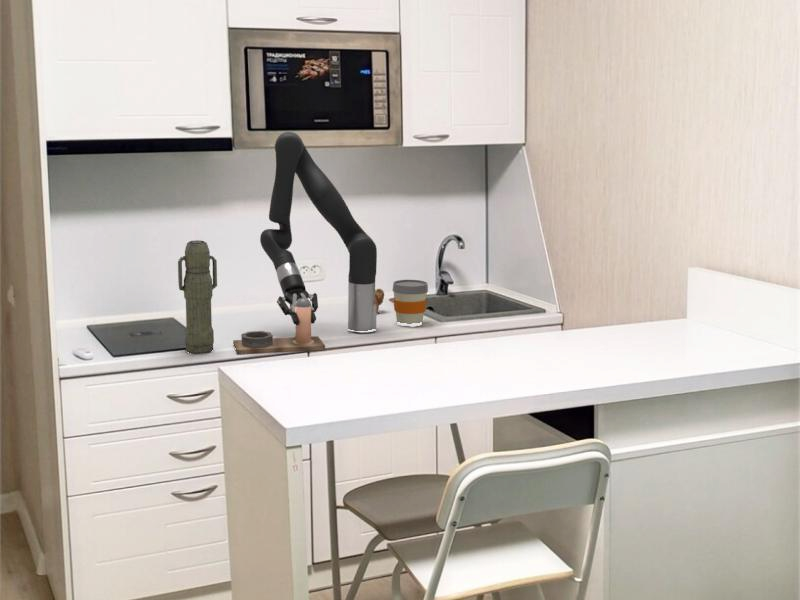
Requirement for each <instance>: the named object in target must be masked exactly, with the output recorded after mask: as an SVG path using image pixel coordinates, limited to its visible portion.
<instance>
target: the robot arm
mask: <svg viewBox="0 0 800 600" xmlns="http://www.w3.org/2000/svg"><path fill="white" fill-rule="evenodd" d="M274 151H275V174H274V175H275V176H274V183H273V187H272V193H271V199H270V204H269V205H270V206H269V211H268V219H269V221H270V222H272V223H275V224H278V226H279V229H278V228H275V229H274V228H267V229H264V230H262V232H261V233H260V236H259V237H260V238H259V242H260V244H261V245H260V246H261V248H262V249H263V251H264V252H265V254H266V255H267V256H268V258H269V259H270V260H271V262H272V264H273V266H274V270H275V272H276V277H277V280H278V283H279V287H280V289H281V292H282V294H283V296H279V297H278V298H277V301H276V303H277V305H278V306H279V308H280V310H281V311H282V313H283V315H285V316H290V317H291V320H292V323H293V324H294V325H295V326H296V325H299V323H300V321H299V318H298V315H297V313H296V302H297V300H299V299H300V298H306V299H308V300H309V301H310V302H311V325H312V324H315V322H316V321H317V316H316V312H317V310H318V308H319V299H318V294H317V293H316V292H313V294H312V293H309V292H308V291H307V290H306V285H305V283H304V280H303V277H302V274H301V272H300V271H301V270H300V269H299V267H298V265H297V263H296V260H295V258H294V255H293V253H292V252H291V251H290V250H289V248H290V247H291V245H292V244H293V243H292V242H293V235H292V229H291V227H292V225H291V213H292V204H293V195H294V180H295V175H296V177H298V179H299V182H301V185H302V188H303V189H304V191H305V193H306V195H307V197H308V198H309V200H310V201H311V203H312V204H313V205H314V207H315V208H316V210H317V211H318V213H320V215H321V216H322V217H323V219H324V220H325V221H326V222H327V223H328V224H329V225H331V227H332V228H333V230H335V231H336V232H337V234H338V235H339V237H340V239H341V240H342V241H343V244H344V245H345V247H346V249H347V252H348V253H349V255H348V256H349V261H348V262H349V263H348V264H349V269H348V282H347V283H348V287H347V288H348V292H347V294H348V298H347V299H348V302H347V305H348V307H347V308H348V309H347V315H348V316H347V330H348V329H350V330H354V331H368V330H372V329H376V330H377V314H376V312H377V306H376V304H375V290H376V277H377V276H376V275H377V262H378V259H377V256H378V254H377V253H378V249H377V245H376V242H374V239H373V238H372V237H370V236H369V235H368V234H367V232H365V230H364V229H363V228H362V227H361V225H359V224H358V222H357V221H356V219H355V218H354V217H353V214H352V213H351V210H350V208H349V207H348V205H347V204H346V201H345V199H343V196H342V195H341V194H340V192H339V190H338V189H337V188H336V187H335V185H334V184H333V182H331V179H329V178H328V176H327V175H326V174H325V172H323V170H322V169H321V168H320V167H319V166H318V164H316V162H315V161H314V159H313V158H312V156H311V155H310V153H309V151H308V149H307V148H306V146H305V144H304V142H303V140H302V138H301V137H300V136H299V135H298V134H297V133H295V132H292V131H286V132H285V131H284V132H282V133H280V134H279V135H278V137H277V139H276V140H275V144H274ZM288 304H289V306H288Z"/></svg>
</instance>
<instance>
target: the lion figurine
mask: <svg viewBox="0 0 800 600" xmlns="http://www.w3.org/2000/svg"><path fill="white" fill-rule="evenodd" d="M384 298H385V292H384V290H383V289H382V288H375V304H376V306H377V312H376V313H379V314H380V312H379V309H380V308H379V307H380V306H381V305H382V304H383V302H384Z"/></svg>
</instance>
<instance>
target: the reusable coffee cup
mask: <svg viewBox="0 0 800 600" xmlns="http://www.w3.org/2000/svg"><path fill="white" fill-rule="evenodd" d="M392 292H393V298H392V301H393V308H394V309H393V310H394V312H395V317H396V323H397V322H400V323H407V324H412V323H420V322H422V321H423V320H424V314H425V312H426V309H427V301H428V299H427V293H428V292H429V287H428V282H427V281H424V280H420V279H419V280H418V279H398V280H396V281H393V285H392ZM423 322H424V321H423ZM423 322H422V323H423Z"/></svg>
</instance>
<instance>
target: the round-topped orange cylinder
mask: <svg viewBox="0 0 800 600" xmlns="http://www.w3.org/2000/svg"><path fill="white" fill-rule="evenodd" d="M311 306H312V302H311V301H310V299H309V298H308V299H306V298H300V299H299V300H297V302H296V311H295V313H297V315H298V318H299V321H300V323H299V325H295V337H296V343H301V344H305V343H310V342H311V336H312V323H311Z"/></svg>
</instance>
